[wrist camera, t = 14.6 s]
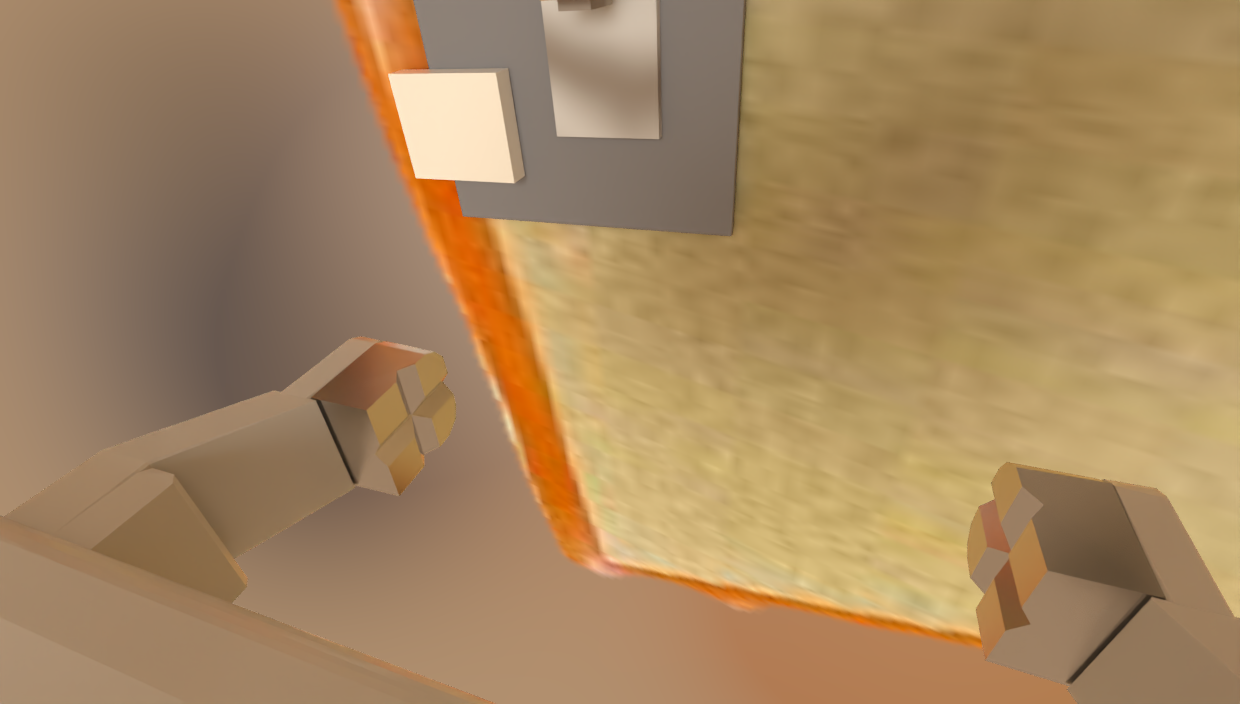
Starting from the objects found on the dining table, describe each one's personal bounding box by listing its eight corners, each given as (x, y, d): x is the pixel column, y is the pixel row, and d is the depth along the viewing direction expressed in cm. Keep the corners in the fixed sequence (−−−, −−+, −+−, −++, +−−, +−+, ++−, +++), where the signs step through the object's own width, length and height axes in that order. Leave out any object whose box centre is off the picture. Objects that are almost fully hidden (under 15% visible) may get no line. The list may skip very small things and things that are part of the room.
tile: (508, 67, 32) (403, 69, 34) (495, 72, 30) (387, 73, 32) (525, 175, 35) (429, 170, 37) (514, 183, 34) (415, 178, 36)
